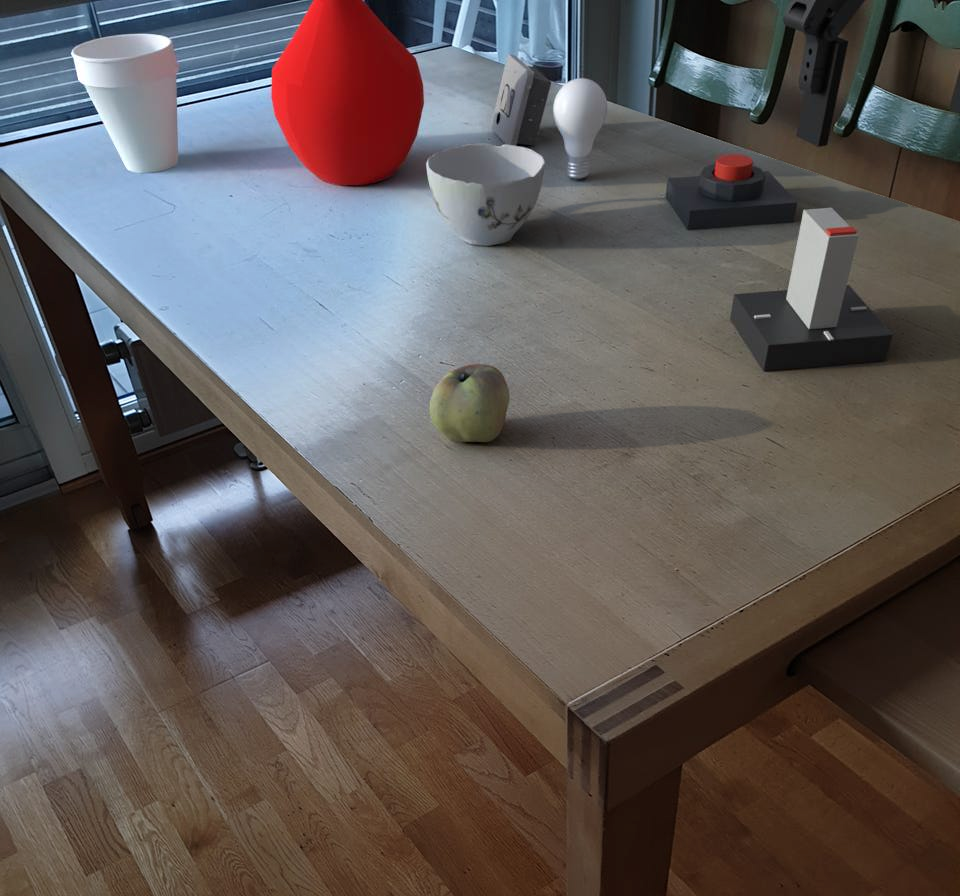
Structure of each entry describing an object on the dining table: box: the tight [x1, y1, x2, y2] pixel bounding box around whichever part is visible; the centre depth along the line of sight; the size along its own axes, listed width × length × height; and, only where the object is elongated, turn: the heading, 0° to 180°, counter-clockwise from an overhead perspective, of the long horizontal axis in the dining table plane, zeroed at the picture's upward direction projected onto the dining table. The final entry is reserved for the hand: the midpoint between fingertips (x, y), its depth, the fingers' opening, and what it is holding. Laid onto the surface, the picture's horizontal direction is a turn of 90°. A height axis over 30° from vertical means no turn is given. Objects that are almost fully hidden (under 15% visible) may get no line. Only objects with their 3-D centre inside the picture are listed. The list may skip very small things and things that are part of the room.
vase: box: [270, 0, 425, 186], centre depth 112 cm, size 18×18×30 cm
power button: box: [714, 153, 754, 181], centre depth 107 cm, size 4×4×2 cm
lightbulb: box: [552, 77, 608, 181], centre depth 114 cm, size 6×6×11 cm
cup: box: [70, 33, 180, 174], centre depth 123 cm, size 12×12×14 cm
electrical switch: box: [491, 54, 552, 147], centre depth 127 cm, size 9×5×9 cm, turn 15°
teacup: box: [425, 143, 546, 247], centre depth 105 cm, size 15×12×8 cm
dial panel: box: [729, 284, 893, 372], centre depth 87 cm, size 11×10×3 cm
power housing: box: [665, 163, 798, 232], centre depth 108 cm, size 12×10×4 cm
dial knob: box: [786, 207, 859, 329], centre depth 83 cm, size 6×2×8 cm, turn 6°
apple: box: [428, 363, 511, 443], centre depth 76 cm, size 6×8×6 cm
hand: (889, 127), depth 71 cm, fingers open, 13 cm apart
